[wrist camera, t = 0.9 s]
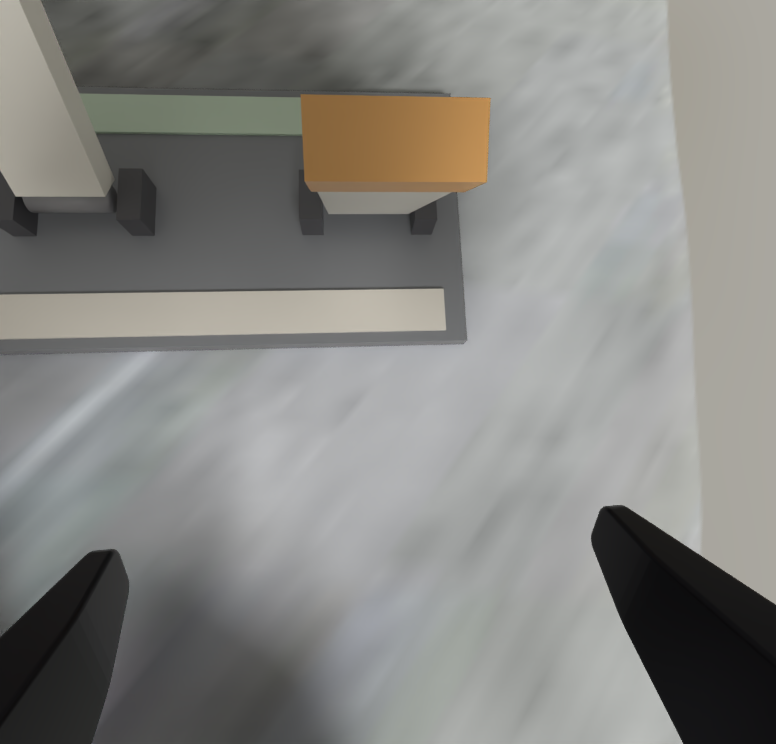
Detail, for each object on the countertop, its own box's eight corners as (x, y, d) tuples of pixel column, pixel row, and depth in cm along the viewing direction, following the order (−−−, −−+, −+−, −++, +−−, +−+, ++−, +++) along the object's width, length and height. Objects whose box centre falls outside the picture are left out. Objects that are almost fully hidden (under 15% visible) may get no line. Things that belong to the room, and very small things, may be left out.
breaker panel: (463, 344, 24) (475, 332, 21) (-18, 355, 22) (-62, 343, 20) (447, 104, 26) (456, 69, 23) (7, 96, 24) (-30, 57, 22)
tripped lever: (407, 217, 23) (486, 182, 10) (327, 217, 23) (304, 181, 10) (407, 182, 23) (490, 98, 10) (326, 181, 23) (300, 93, 10)
